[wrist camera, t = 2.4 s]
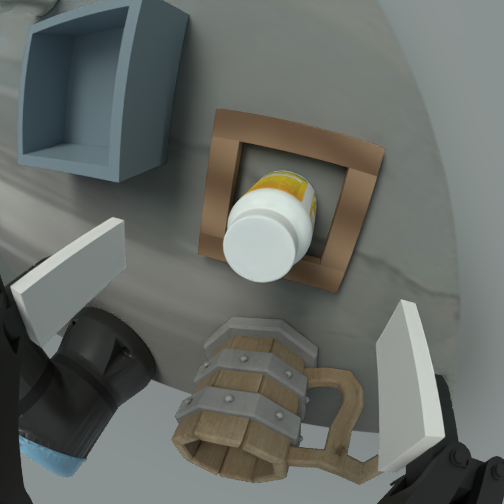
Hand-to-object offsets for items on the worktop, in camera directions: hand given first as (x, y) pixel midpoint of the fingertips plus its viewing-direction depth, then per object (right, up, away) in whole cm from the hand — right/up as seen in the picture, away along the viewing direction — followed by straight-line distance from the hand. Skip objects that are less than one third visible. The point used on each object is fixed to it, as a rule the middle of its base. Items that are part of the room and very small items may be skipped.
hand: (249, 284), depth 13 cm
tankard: (+5, -11, +19) cm, 23 cm away
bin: (-13, +17, +10) cm, 24 cm away
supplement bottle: (+3, +6, +11) cm, 13 cm away
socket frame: (+3, +6, +11) cm, 13 cm away
